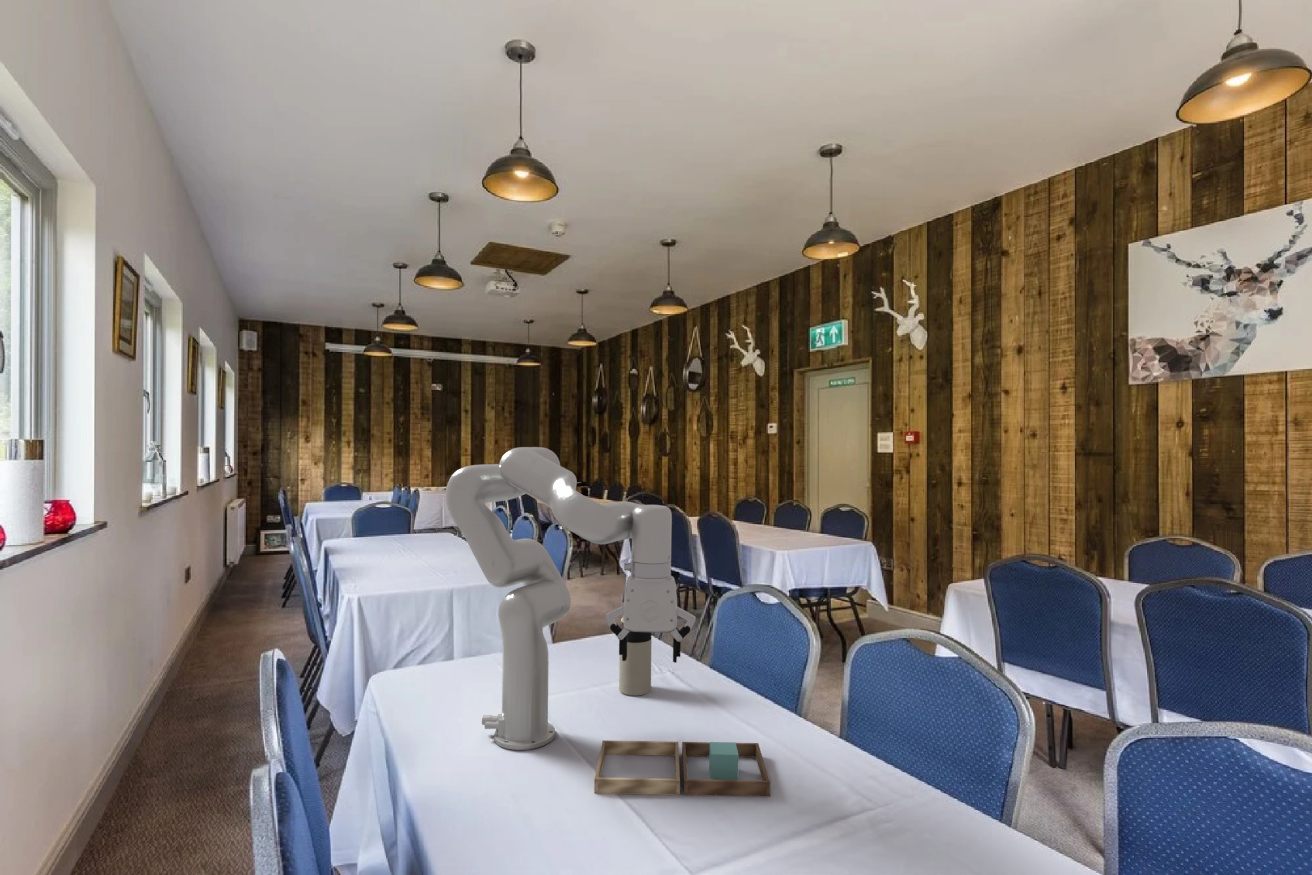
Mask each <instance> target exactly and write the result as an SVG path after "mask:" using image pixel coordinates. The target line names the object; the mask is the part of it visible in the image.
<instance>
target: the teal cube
mask: <svg viewBox="0 0 1312 875" xmlns="http://www.w3.org/2000/svg"><path fill="white" fill-rule="evenodd" d="M709 742H710V748H709V756H708V757H709V758H708V759H709V760H708V761H709V765H708V770H709V774H710V775H709V776H710V780H739V757H738V751H737V746H736V743H737V742H736V741H735V742H731V741H730V742H729V741H727V742H726V741H709Z"/></svg>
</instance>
